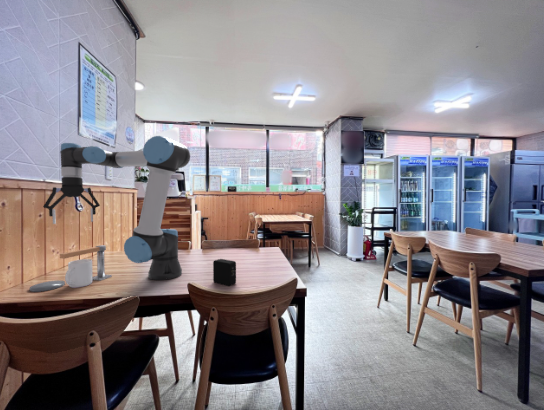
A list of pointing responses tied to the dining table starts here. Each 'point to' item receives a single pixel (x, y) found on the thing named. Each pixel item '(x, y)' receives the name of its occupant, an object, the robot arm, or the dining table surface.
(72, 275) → the mug
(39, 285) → the disc
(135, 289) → the dining table surface
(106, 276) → the post
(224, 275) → the electronic device
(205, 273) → the dining table surface
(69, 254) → the orange-brown wooden bar
